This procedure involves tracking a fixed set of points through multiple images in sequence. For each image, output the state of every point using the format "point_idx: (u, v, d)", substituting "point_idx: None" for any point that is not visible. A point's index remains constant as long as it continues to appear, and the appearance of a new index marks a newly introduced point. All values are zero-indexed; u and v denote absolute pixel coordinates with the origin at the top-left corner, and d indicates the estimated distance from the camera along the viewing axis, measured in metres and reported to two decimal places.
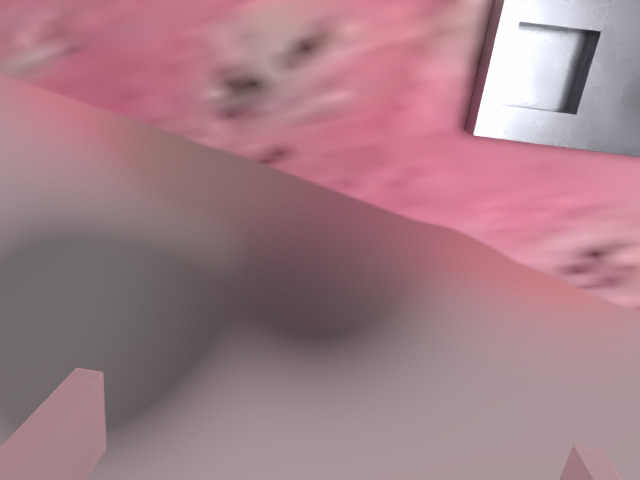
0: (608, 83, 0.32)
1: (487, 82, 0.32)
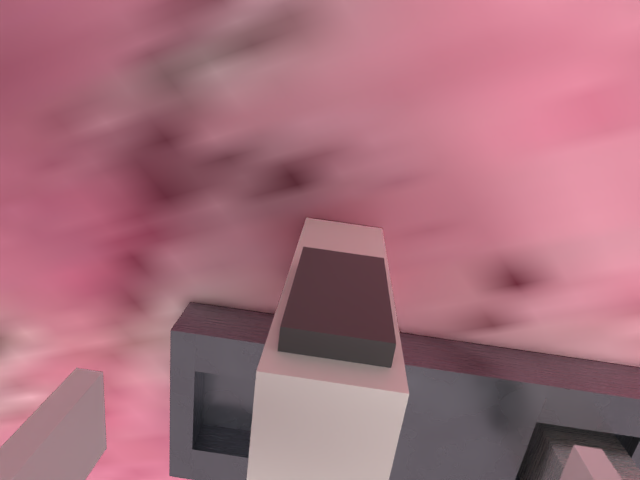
0: None
1: (172, 427, 0.26)
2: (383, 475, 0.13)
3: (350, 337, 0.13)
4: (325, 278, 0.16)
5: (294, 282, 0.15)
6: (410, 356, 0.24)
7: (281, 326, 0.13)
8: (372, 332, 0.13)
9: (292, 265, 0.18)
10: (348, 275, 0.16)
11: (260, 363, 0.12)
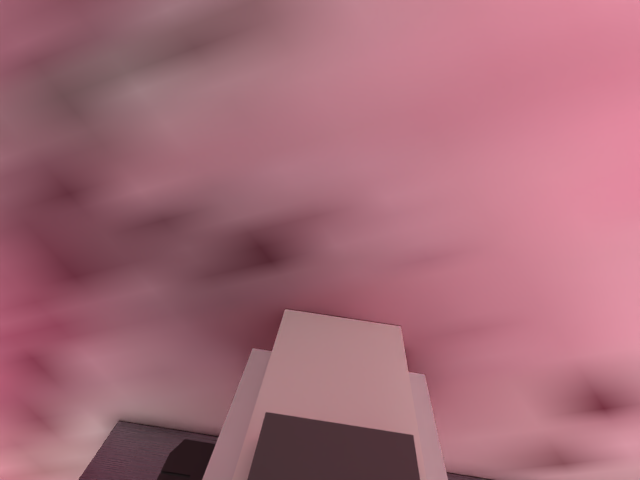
0: None
1: None
2: None
3: None
4: None
5: None
6: None
7: None
8: None
9: (246, 444, 0.10)
10: None
11: None
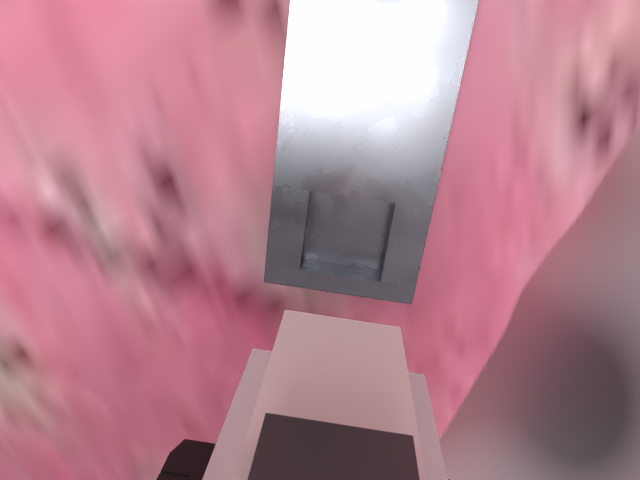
0: (362, 174, 0.28)
1: (357, 294, 0.31)
2: None
3: None
4: None
5: None
6: None
7: None
8: None
9: (246, 445, 0.10)
10: None
11: None
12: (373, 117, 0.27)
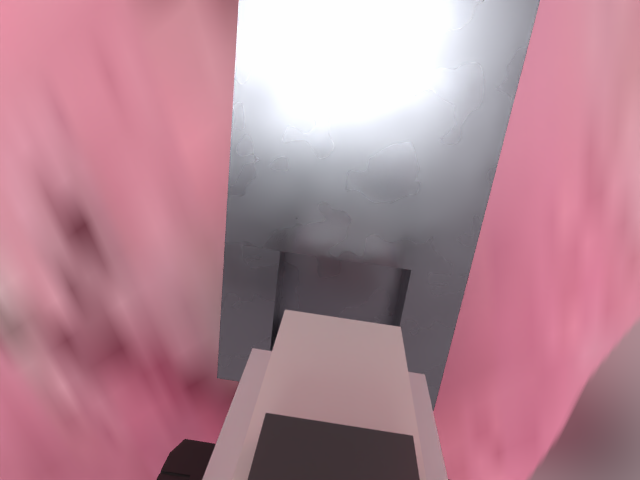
0: (361, 228, 0.18)
1: None
2: None
3: None
4: None
5: None
6: None
7: None
8: None
9: (246, 445, 0.10)
10: None
11: None
12: (377, 141, 0.17)
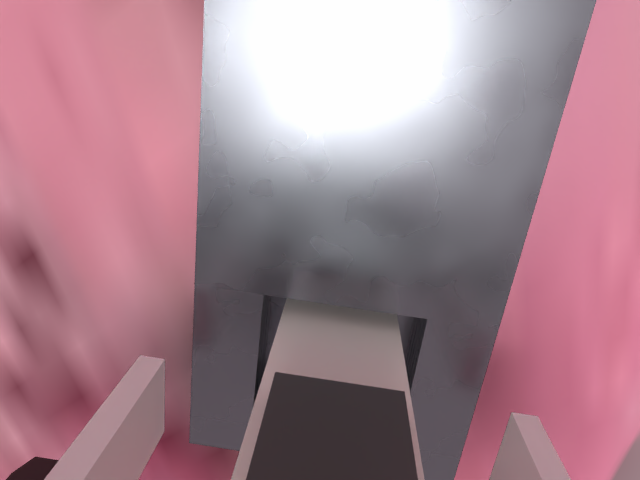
0: (364, 267, 0.15)
1: None
2: None
3: None
4: (306, 460, 0.09)
5: None
6: None
7: None
8: None
9: (258, 400, 0.12)
10: (347, 447, 0.09)
11: None
12: (385, 160, 0.13)
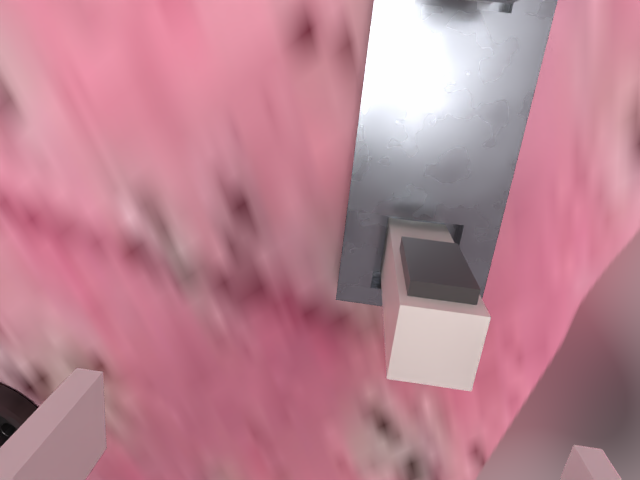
0: (433, 199, 0.30)
1: None
2: (472, 370, 0.21)
3: (452, 286, 0.21)
4: (424, 255, 0.24)
5: (406, 257, 0.24)
6: None
7: (410, 280, 0.21)
8: (464, 283, 0.22)
9: (394, 249, 0.27)
10: (438, 253, 0.25)
11: (400, 301, 0.21)
12: (444, 146, 0.29)
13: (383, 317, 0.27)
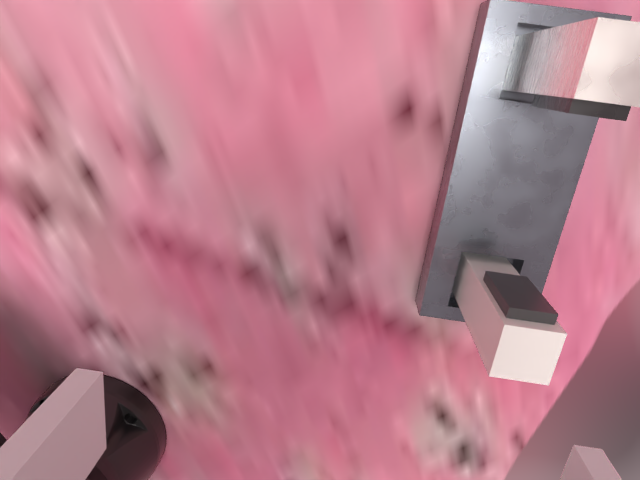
0: (502, 240, 0.39)
1: None
2: (551, 370, 0.31)
3: (538, 311, 0.30)
4: (509, 286, 0.34)
5: (498, 288, 0.33)
6: (447, 180, 0.39)
7: (509, 307, 0.30)
8: (546, 309, 0.31)
9: (479, 280, 0.36)
10: (517, 285, 0.34)
11: (503, 322, 0.30)
12: (513, 201, 0.38)
13: (470, 330, 0.36)
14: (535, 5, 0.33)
